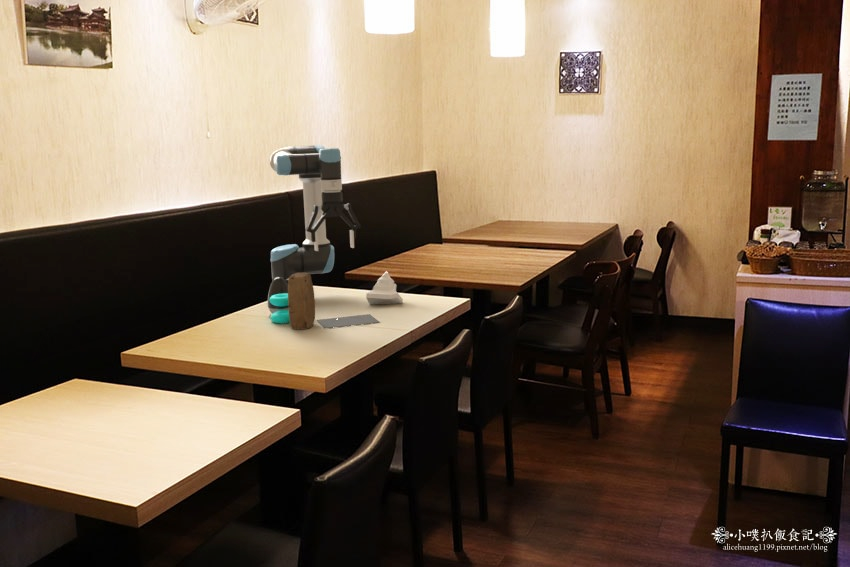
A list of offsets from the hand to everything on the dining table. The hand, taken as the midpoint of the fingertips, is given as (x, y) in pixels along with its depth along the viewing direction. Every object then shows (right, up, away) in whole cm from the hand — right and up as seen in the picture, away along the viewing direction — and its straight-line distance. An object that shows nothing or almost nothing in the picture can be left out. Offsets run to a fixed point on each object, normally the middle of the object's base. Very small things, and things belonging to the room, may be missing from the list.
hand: (334, 249), depth 291 cm
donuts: (-20, -27, +11) cm, 36 cm away
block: (-12, -29, +1) cm, 31 cm away
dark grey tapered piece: (-23, -25, +21) cm, 40 cm away
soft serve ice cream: (+17, -21, +36) cm, 45 cm away
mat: (+4, -27, +7) cm, 28 cm away
